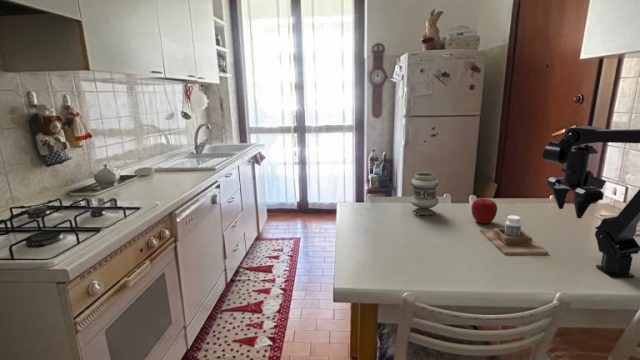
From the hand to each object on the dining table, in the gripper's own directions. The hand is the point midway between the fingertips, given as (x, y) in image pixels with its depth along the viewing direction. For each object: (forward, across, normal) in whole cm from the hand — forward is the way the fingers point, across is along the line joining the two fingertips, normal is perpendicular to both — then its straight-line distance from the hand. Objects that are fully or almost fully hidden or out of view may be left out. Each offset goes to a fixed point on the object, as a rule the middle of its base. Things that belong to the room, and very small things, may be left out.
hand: (569, 213), depth 114 cm
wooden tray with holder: (+13, +7, +14) cm, 20 cm away
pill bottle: (+12, +7, +14) cm, 20 cm away
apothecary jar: (+13, +40, +37) cm, 56 cm away
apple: (+13, +27, +16) cm, 34 cm away
